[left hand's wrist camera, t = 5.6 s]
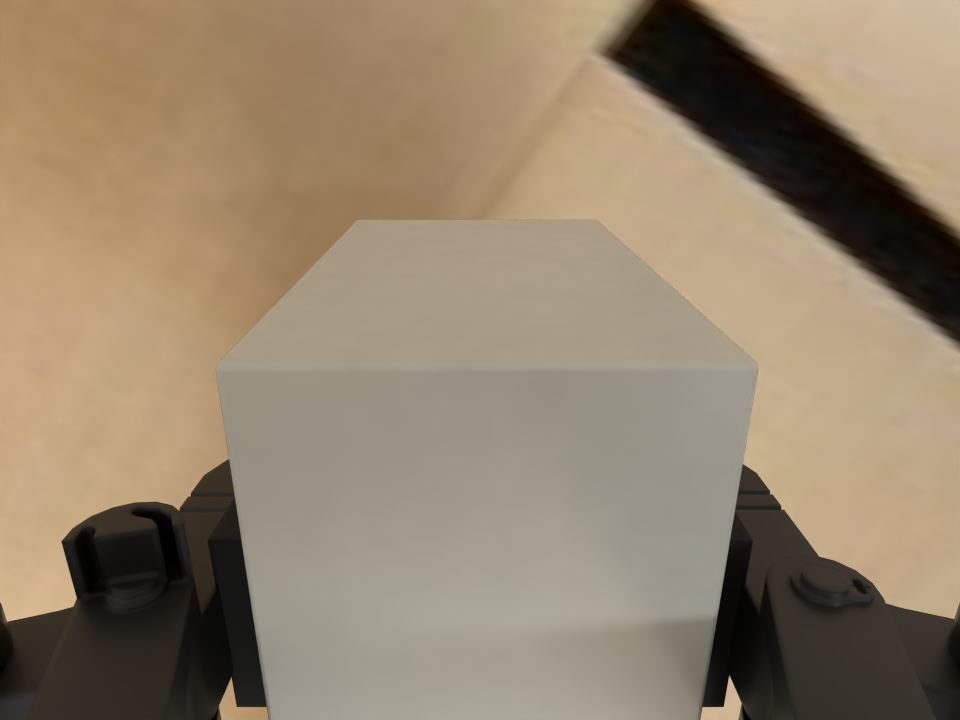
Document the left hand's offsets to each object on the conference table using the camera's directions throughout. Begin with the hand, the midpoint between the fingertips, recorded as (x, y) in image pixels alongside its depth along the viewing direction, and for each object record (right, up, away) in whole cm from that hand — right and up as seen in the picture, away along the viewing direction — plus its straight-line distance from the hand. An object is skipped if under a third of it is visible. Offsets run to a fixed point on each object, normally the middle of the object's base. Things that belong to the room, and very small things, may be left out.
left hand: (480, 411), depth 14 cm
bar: (0, -29, +12) cm, 31 cm away
